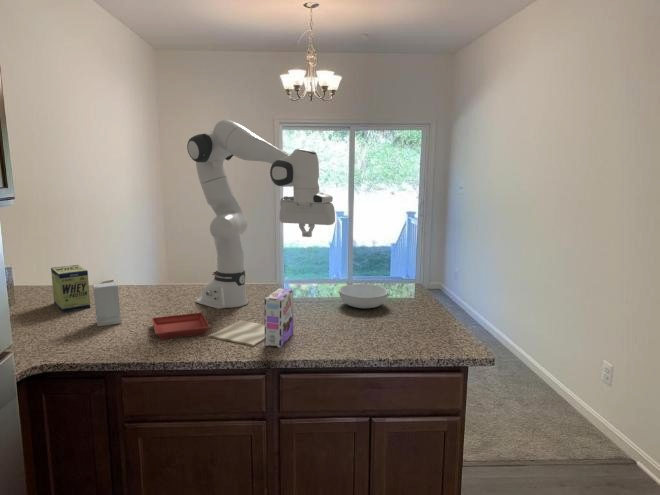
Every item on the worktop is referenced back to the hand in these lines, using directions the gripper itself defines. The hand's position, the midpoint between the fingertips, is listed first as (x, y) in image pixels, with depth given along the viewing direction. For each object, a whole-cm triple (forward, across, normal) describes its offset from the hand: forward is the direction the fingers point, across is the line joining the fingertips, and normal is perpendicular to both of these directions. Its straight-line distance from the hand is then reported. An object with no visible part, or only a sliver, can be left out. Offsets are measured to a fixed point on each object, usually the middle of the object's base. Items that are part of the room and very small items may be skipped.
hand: (307, 236), depth 163 cm
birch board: (+34, -18, -12) cm, 40 cm away
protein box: (+32, -100, -18) cm, 107 cm away
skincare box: (+33, -69, -26) cm, 81 cm away
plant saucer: (+34, -41, -20) cm, 57 cm away
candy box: (+34, -5, -12) cm, 37 cm away
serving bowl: (+35, +6, +39) cm, 52 cm away
